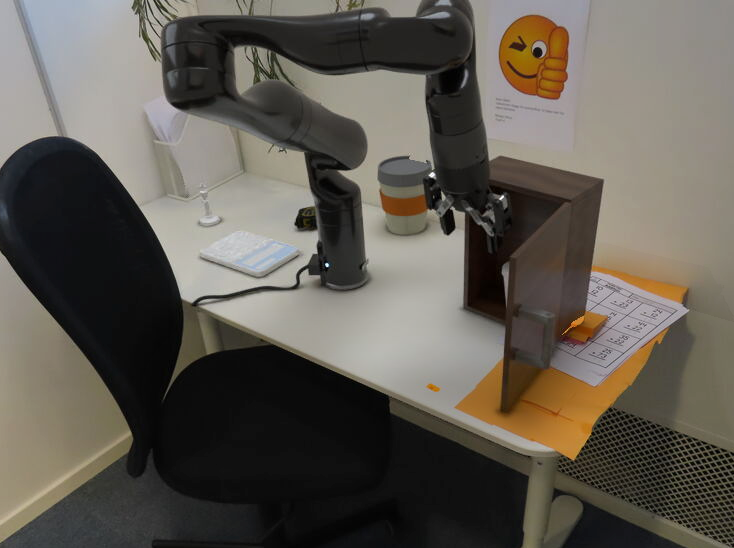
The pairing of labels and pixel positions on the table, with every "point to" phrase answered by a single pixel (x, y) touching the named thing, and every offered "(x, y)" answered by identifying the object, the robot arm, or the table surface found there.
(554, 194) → the cupboard
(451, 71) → the robot arm
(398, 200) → the reusable coffee cup
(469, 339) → the table surface
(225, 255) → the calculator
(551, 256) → the cupboard door
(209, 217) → the chess piece
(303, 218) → the tape measure
